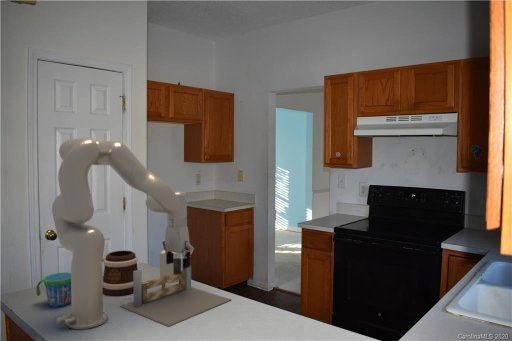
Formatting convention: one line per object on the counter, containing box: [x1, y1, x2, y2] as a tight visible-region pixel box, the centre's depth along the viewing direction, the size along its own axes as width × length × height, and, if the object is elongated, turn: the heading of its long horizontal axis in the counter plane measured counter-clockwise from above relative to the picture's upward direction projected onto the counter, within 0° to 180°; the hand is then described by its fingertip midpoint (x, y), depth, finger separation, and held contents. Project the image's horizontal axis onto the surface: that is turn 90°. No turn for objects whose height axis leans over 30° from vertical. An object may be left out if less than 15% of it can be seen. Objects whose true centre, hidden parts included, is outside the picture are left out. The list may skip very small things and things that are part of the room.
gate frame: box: [133, 264, 192, 307], centre depth 154 cm, size 26×3×13 cm, turn 142°
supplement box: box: [159, 249, 181, 283], centre depth 176 cm, size 7×7×13 cm
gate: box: [142, 258, 184, 303], centre depth 154 cm, size 20×3×13 cm, turn 142°
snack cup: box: [35, 271, 71, 308], centre depth 148 cm, size 16×11×10 cm
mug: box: [102, 250, 139, 296], centre depth 163 cm, size 20×15×15 cm
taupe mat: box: [119, 286, 232, 328], centre depth 148 cm, size 30×27×1 cm
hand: (178, 265), depth 159 cm, fingers open, 9 cm apart
